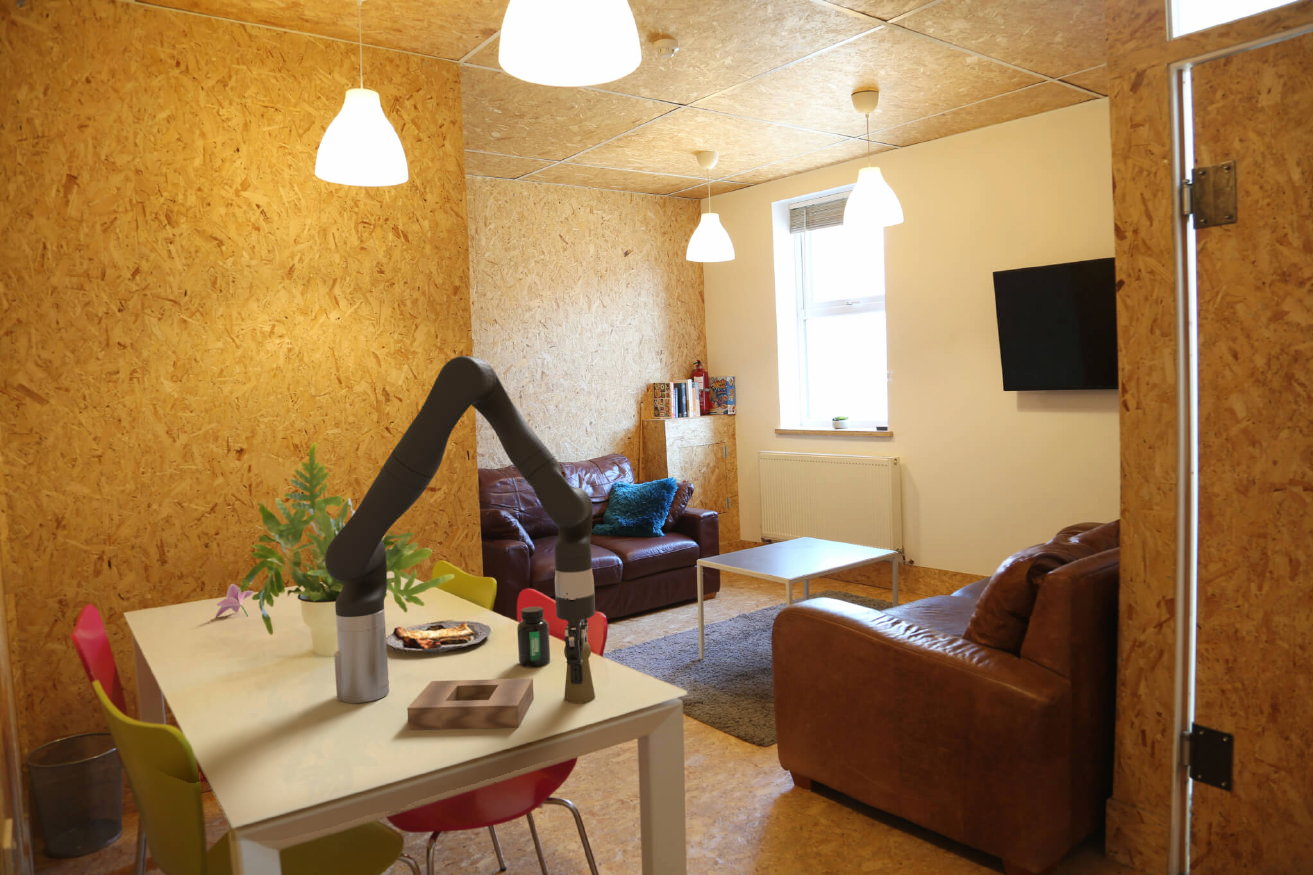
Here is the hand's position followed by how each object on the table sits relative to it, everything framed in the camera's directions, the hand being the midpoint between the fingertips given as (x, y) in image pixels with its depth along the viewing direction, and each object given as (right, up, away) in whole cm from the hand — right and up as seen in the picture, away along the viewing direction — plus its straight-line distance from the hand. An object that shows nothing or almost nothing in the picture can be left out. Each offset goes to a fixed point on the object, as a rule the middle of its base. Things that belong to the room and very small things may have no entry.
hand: (578, 678), depth 165 cm
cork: (0, -4, 0) cm, 4 cm away
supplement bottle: (-12, -3, +23) cm, 26 cm away
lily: (-104, -4, +76) cm, 129 cm away
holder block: (-19, -5, -6) cm, 21 cm away
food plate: (-38, -3, +42) cm, 57 cm away
